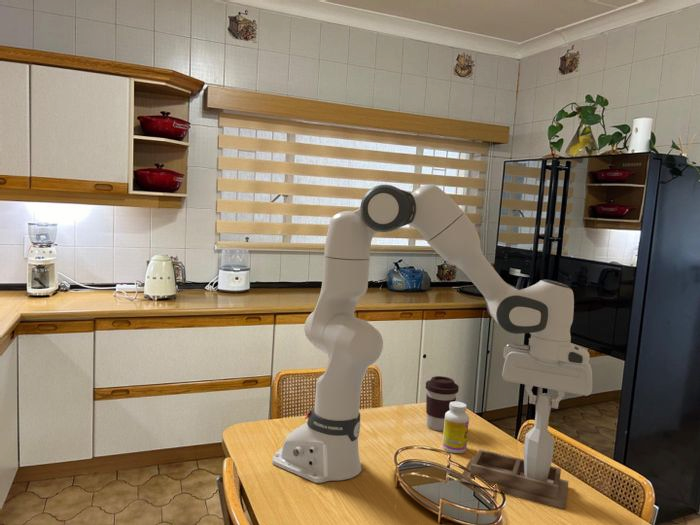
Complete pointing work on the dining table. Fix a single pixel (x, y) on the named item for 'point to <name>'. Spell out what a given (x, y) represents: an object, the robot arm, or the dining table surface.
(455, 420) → the supplement bottle
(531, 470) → the low poly bottle
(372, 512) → the dining table surface
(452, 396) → the coffee cup
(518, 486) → the slot rack
